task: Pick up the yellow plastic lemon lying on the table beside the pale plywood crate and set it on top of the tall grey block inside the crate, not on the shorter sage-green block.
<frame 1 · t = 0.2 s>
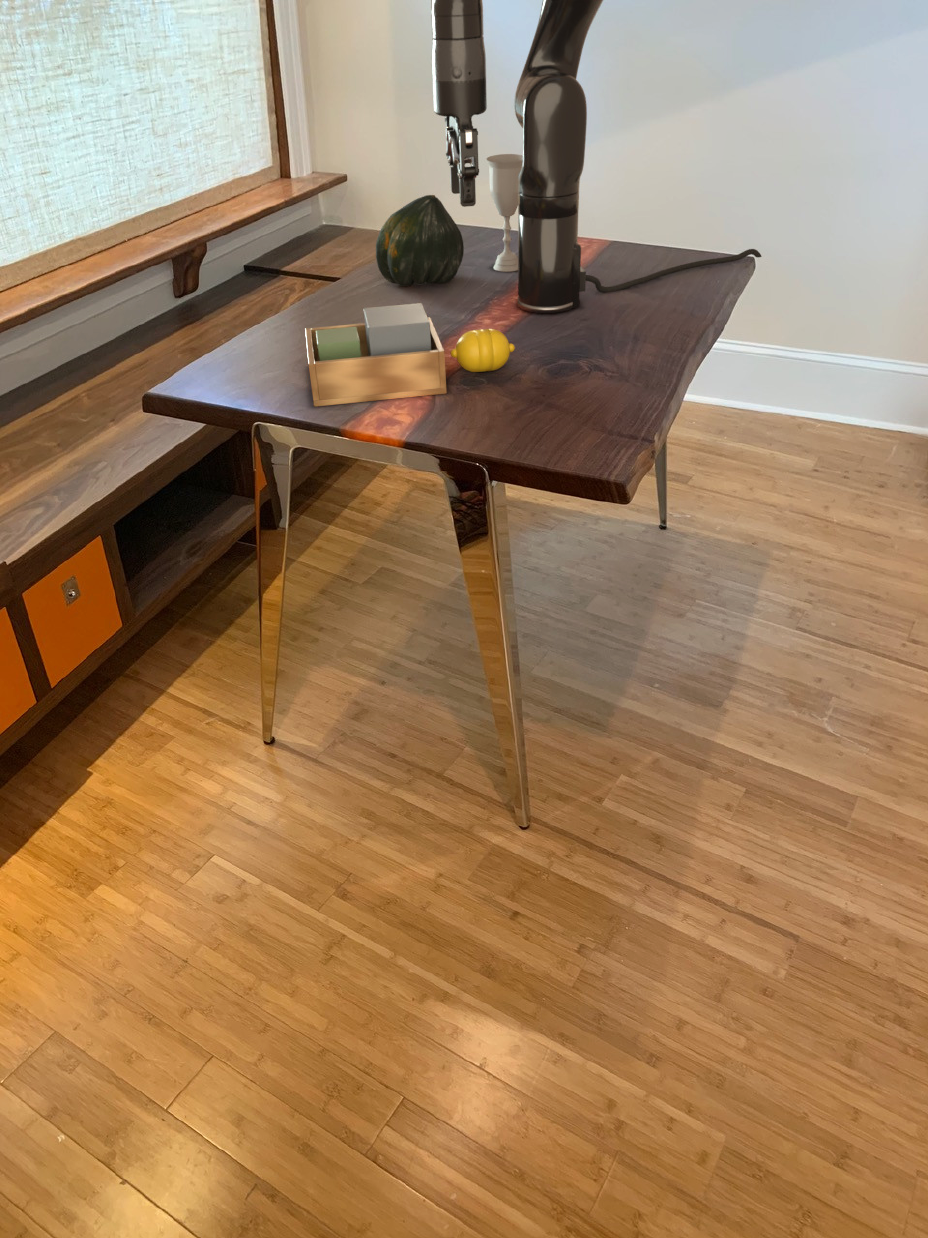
hand: (463, 199, 142), 17 cm above the table, tool pointing down, fingers open, 8 cm apart
crate: (376, 380, 131), on the table
block sage: (342, 383, 130), resting on crate
chalice: (507, 268, 171), on the table
lemon: (483, 369, 133), on the table
block grey: (400, 378, 131), resting on crate
squash: (422, 282, 166), on the table
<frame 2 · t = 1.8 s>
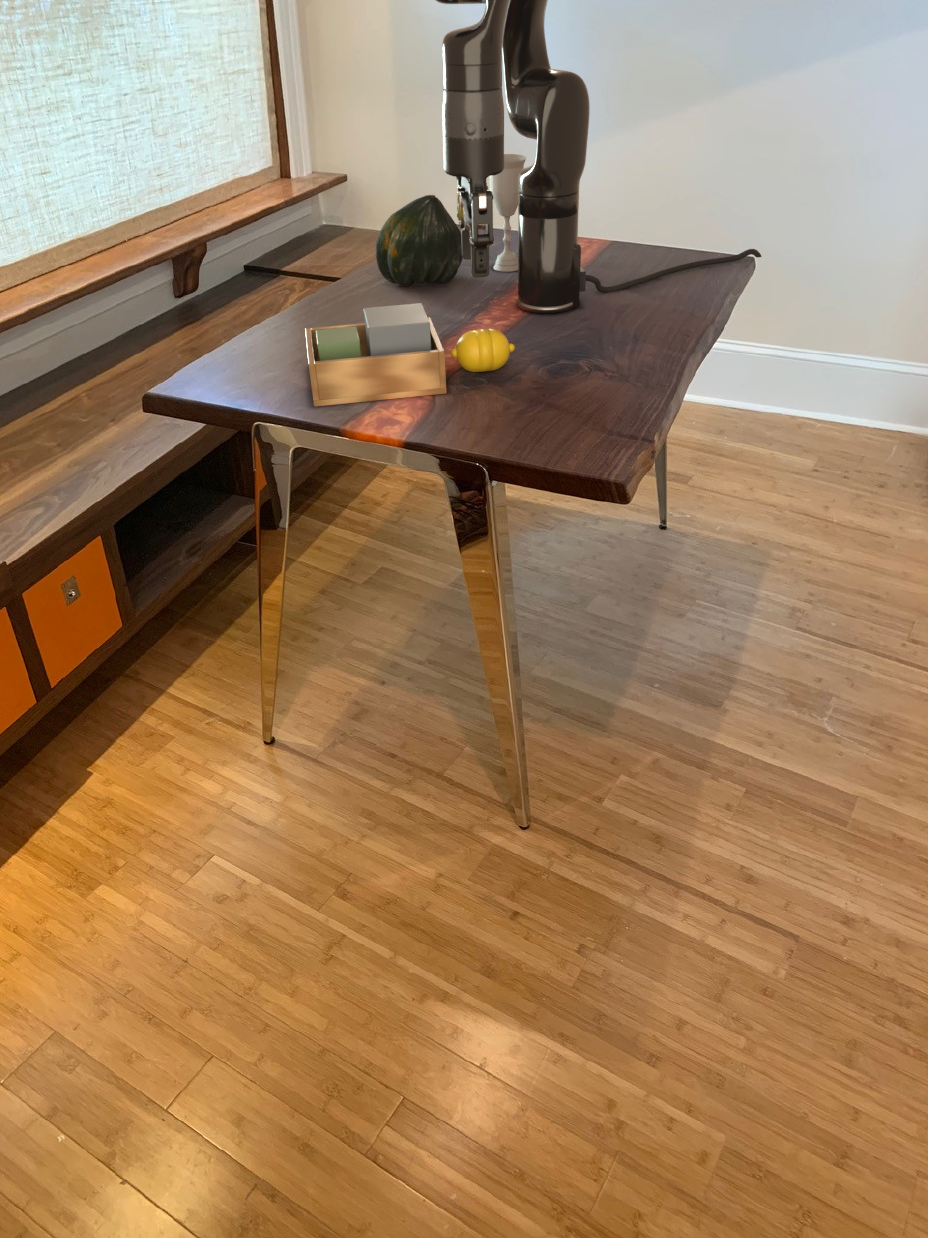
hand: (475, 266, 125), 14 cm above the table, tool pointing down, fingers open, 8 cm apart
nothing on the table moved.
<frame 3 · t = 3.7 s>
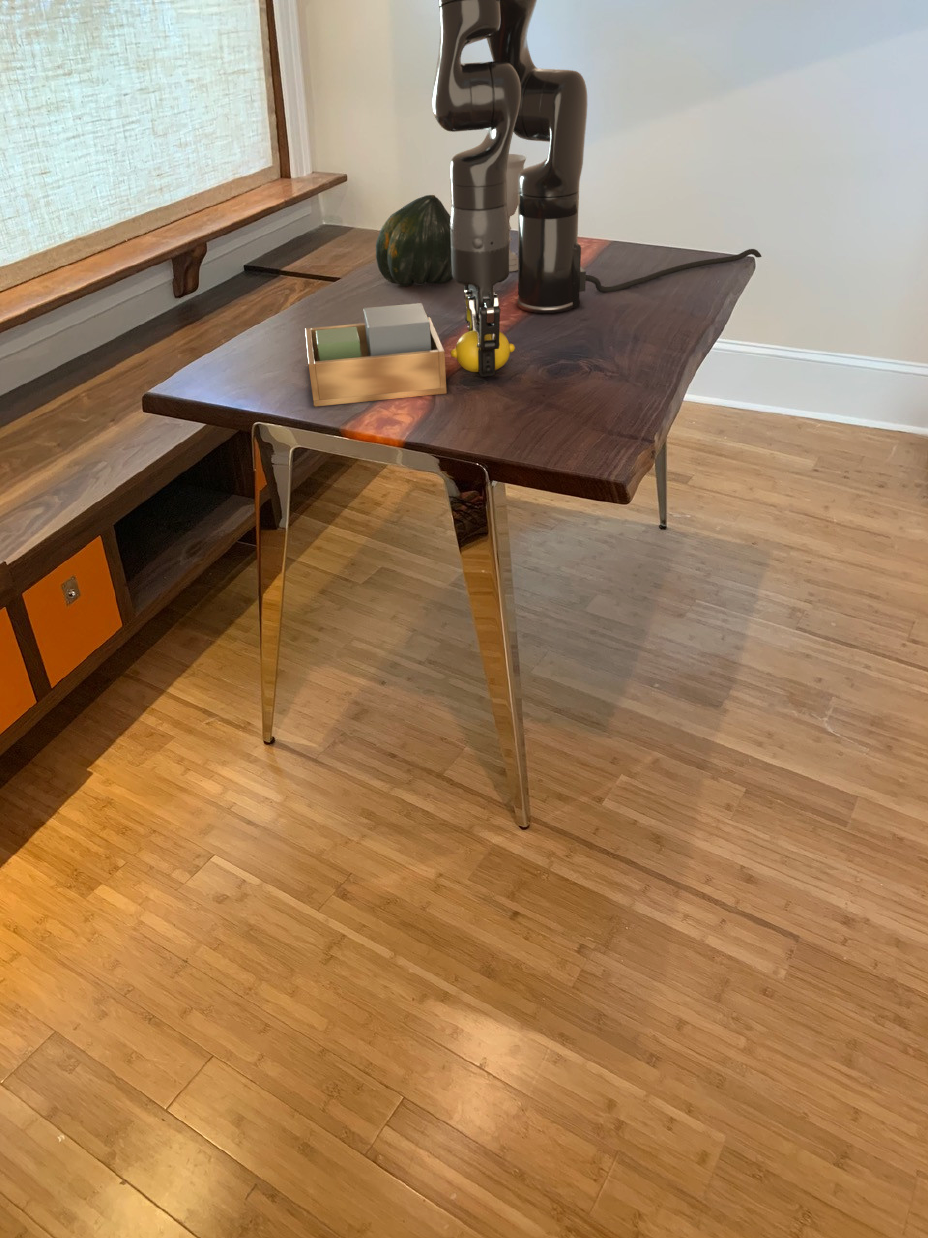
hand: (482, 366, 132), 1 cm above the table, tool pointing down, fingers closed on lemon, 5 cm apart
lemon: (483, 369, 133), on the table, touching gripper
everything else where it was.
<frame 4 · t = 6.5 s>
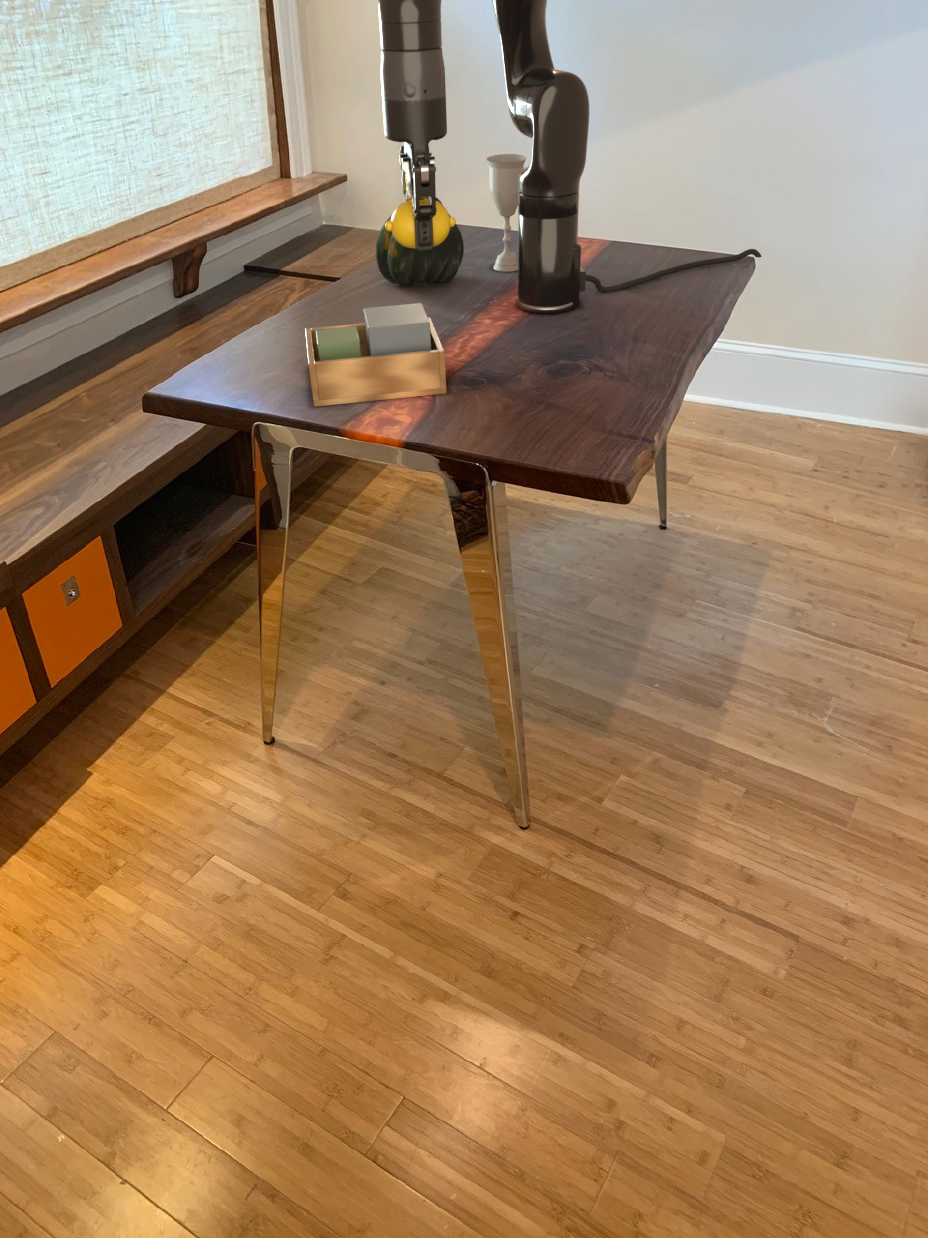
hand: (421, 242, 121), 18 cm above the table, tool pointing down, fingers closed on lemon, 5 cm apart
lemon: (421, 246, 121), point 17 cm above the table, touching gripper
everything else where it was.
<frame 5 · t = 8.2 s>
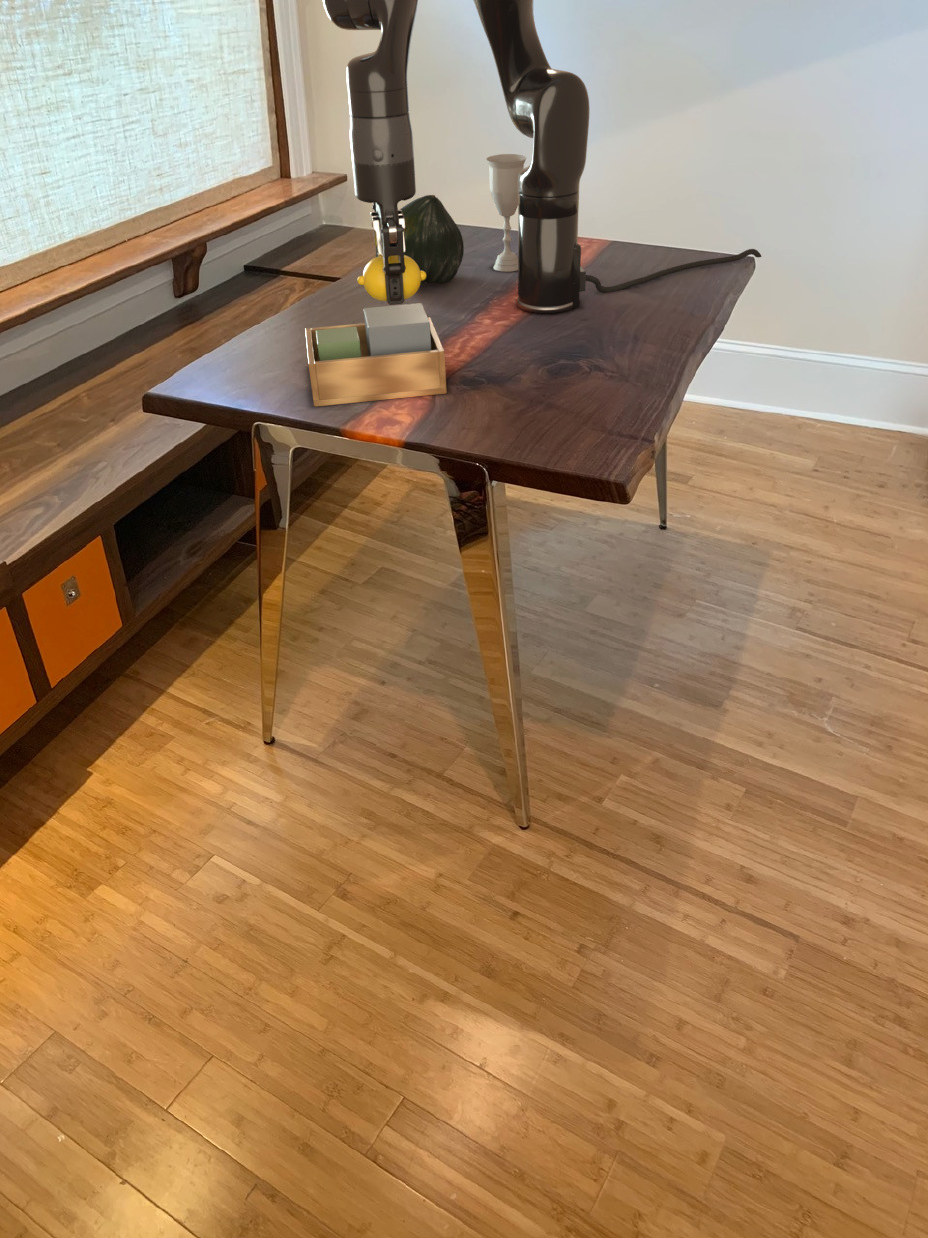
hand: (393, 295, 125), 11 cm above the table, tool pointing down, fingers closed on lemon, 5 cm apart
lemon: (393, 299, 125), point 11 cm above the table, touching gripper
everything else where it was.
when the fingers open (9 cm above the table, at t = 9.4 s): lemon stays where it is, resting on block grey.
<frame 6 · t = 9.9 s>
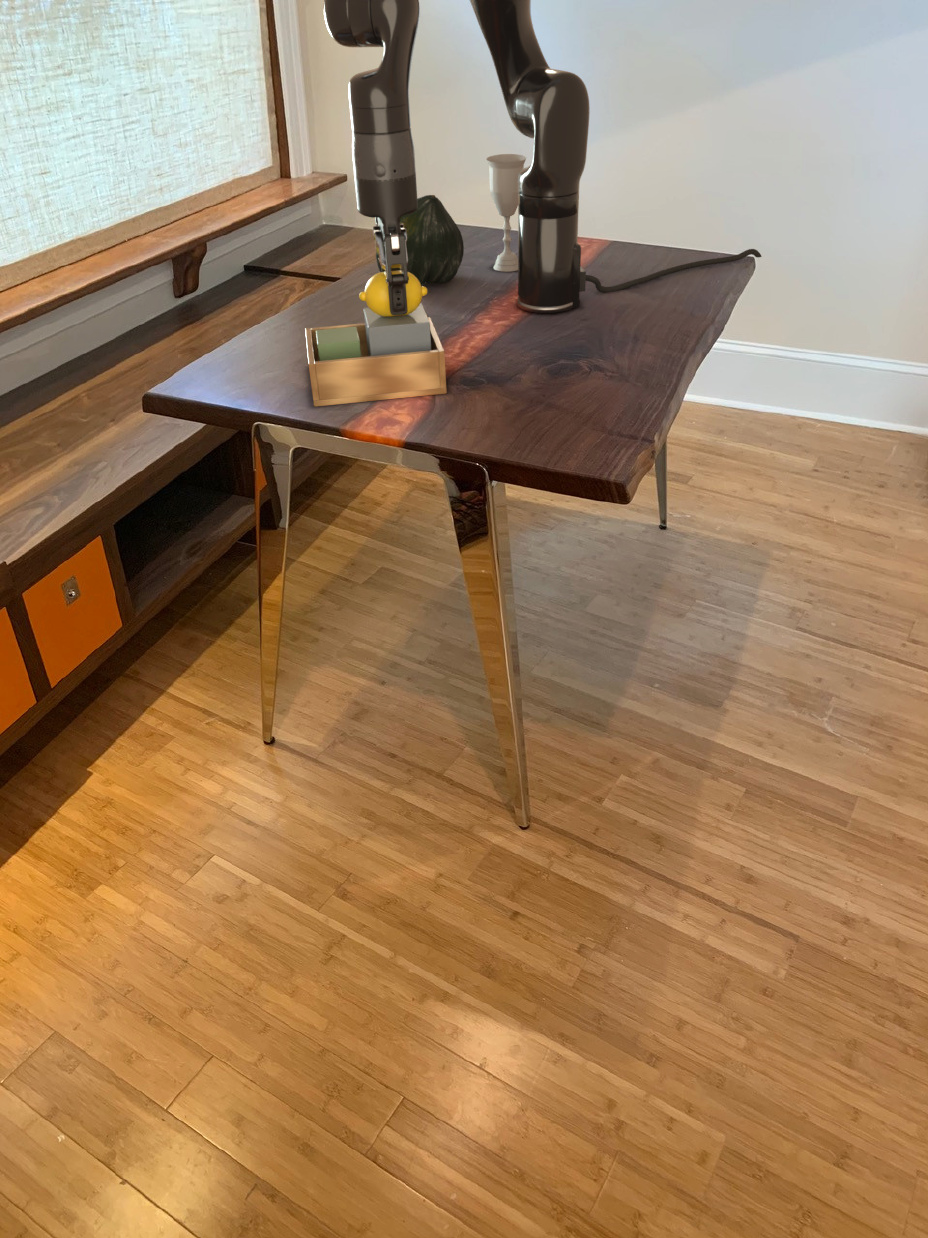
hand: (395, 303, 125), 10 cm above the table, tool pointing down, fingers open, 8 cm apart
lemon: (395, 314, 126), point 9 cm above the table, touching block grey
everything else where it was.
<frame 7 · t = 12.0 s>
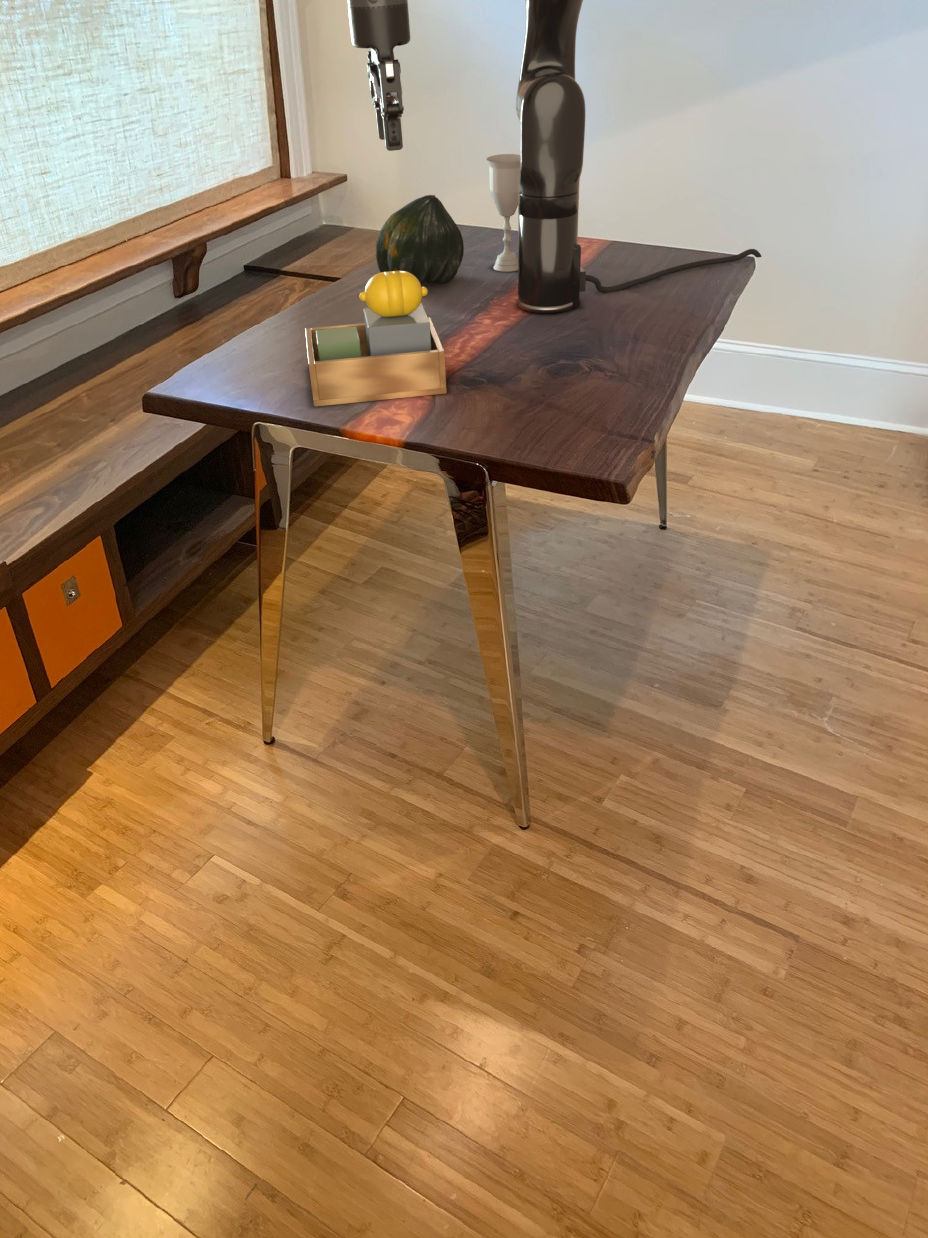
hand: (390, 143, 128), 27 cm above the table, tool pointing down, fingers open, 8 cm apart
nothing on the table moved.
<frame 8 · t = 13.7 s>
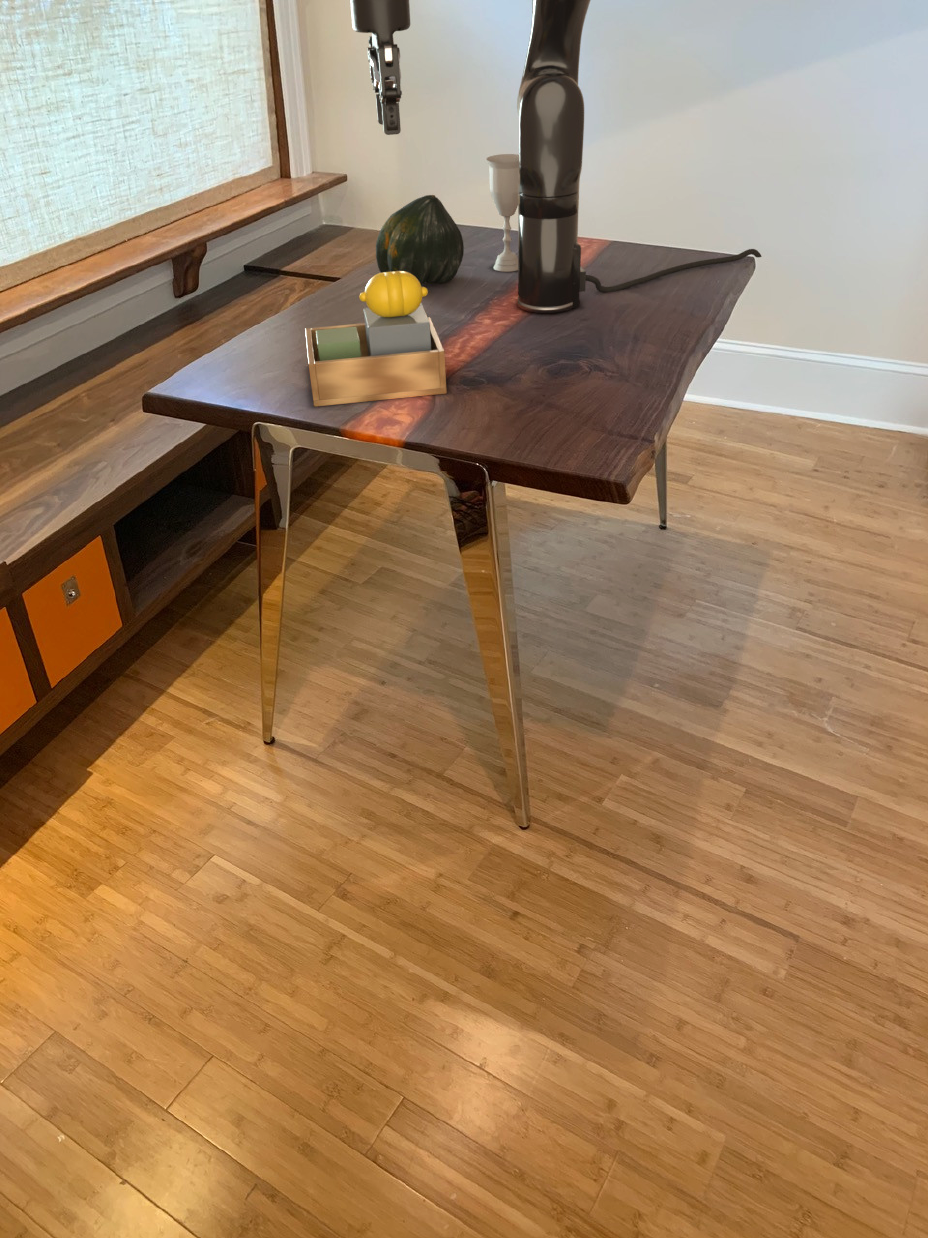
hand: (389, 128, 130), 28 cm above the table, tool pointing down, fingers open, 8 cm apart
nothing on the table moved.
at the end: lemon inside the target area on the block grey (0.1 cm from its centre), point 8.8 cm above the block grey's base; lemon touching block grey; the gripper is holding nothing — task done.
